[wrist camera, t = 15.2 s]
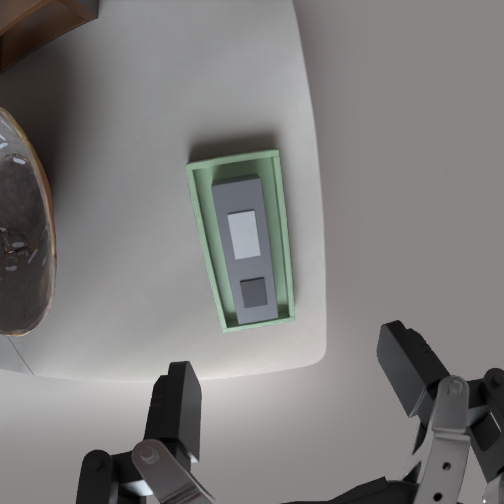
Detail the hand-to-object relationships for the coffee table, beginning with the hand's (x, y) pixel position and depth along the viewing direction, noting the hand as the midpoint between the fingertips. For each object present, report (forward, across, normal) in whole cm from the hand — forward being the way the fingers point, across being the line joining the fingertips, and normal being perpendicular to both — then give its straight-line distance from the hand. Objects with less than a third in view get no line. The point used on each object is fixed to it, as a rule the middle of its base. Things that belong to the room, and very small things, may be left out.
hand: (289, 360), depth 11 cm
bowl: (+20, +28, -8) cm, 35 cm away
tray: (+20, +1, +3) cm, 20 cm away
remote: (+19, +1, +3) cm, 20 cm away
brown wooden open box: (+20, +21, -31) cm, 42 cm away
